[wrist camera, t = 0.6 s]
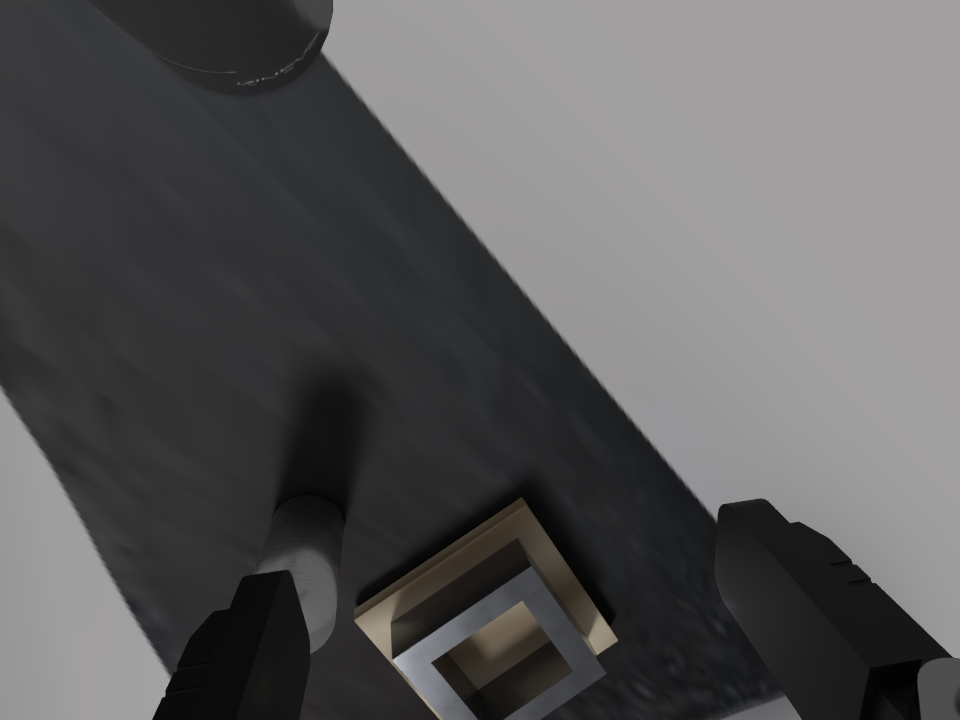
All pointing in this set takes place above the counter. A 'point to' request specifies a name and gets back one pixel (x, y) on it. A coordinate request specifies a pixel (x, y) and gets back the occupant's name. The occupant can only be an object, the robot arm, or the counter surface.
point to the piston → (308, 558)
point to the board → (509, 631)
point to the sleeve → (469, 607)
